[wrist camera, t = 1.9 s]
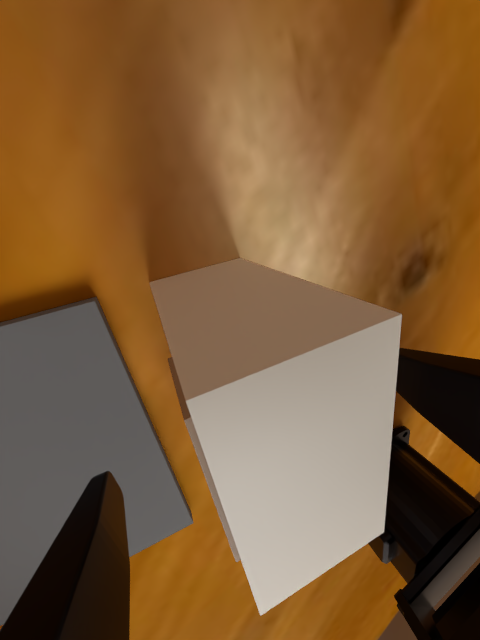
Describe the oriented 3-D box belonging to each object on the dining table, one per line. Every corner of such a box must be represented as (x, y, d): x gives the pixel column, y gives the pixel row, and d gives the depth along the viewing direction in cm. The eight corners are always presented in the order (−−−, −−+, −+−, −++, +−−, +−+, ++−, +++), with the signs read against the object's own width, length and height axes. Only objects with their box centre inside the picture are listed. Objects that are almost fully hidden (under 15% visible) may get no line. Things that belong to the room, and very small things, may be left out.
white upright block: (239, 257, 12) (402, 313, 5) (262, 383, 15) (384, 532, 8) (145, 283, 11) (175, 405, 4) (190, 413, 13) (254, 619, 7)
